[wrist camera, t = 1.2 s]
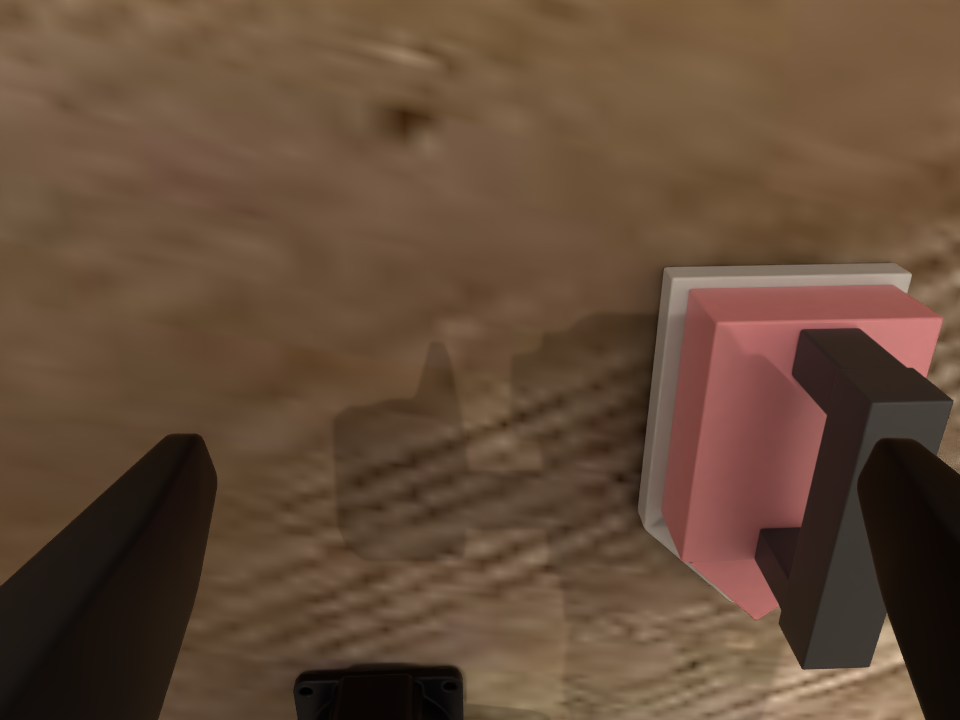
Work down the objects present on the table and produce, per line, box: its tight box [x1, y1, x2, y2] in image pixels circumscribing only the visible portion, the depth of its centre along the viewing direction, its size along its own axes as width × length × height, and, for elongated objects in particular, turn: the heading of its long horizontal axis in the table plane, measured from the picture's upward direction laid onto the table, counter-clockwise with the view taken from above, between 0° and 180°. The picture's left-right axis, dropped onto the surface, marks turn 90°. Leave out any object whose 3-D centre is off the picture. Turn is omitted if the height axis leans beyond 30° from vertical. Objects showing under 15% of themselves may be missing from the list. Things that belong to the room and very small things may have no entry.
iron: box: [638, 263, 953, 670], centre depth 22 cm, size 12×7×7 cm, turn 0°
